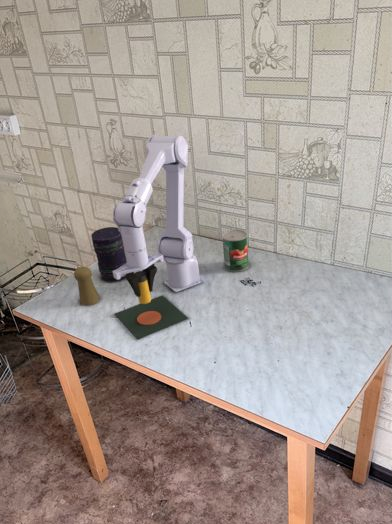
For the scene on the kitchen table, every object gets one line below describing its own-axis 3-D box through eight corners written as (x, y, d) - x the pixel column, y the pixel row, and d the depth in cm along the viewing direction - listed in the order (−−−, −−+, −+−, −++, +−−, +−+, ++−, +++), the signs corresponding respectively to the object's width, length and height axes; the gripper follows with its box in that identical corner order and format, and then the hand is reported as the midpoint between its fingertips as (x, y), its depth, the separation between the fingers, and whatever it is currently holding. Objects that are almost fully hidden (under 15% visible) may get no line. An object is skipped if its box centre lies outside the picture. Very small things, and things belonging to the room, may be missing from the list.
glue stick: (147, 296, 145) (142, 269, 140) (153, 300, 142) (148, 273, 137) (136, 300, 143) (131, 274, 138) (142, 305, 141) (137, 278, 136)
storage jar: (136, 271, 171) (128, 229, 162) (117, 284, 165) (108, 242, 156) (113, 265, 176) (104, 225, 167) (94, 279, 170) (84, 237, 161)
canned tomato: (232, 258, 171) (230, 228, 165) (253, 263, 167) (251, 232, 161) (219, 269, 166) (217, 237, 160) (240, 274, 162) (238, 242, 156)
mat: (162, 296, 156) (162, 294, 156) (188, 318, 144) (188, 317, 144) (114, 314, 150) (114, 312, 150) (137, 339, 139) (137, 337, 138)
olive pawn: (95, 305, 156) (87, 273, 149) (77, 305, 157) (68, 273, 150) (102, 295, 160) (94, 264, 154) (84, 295, 162) (76, 264, 155)
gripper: (151, 234, 139) (158, 278, 147) (103, 252, 133) (114, 296, 141) (164, 242, 134) (171, 287, 142) (116, 260, 128) (126, 306, 136)
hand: (143, 292), depth 141 cm, fingers closed on glue stick, 3 cm apart
